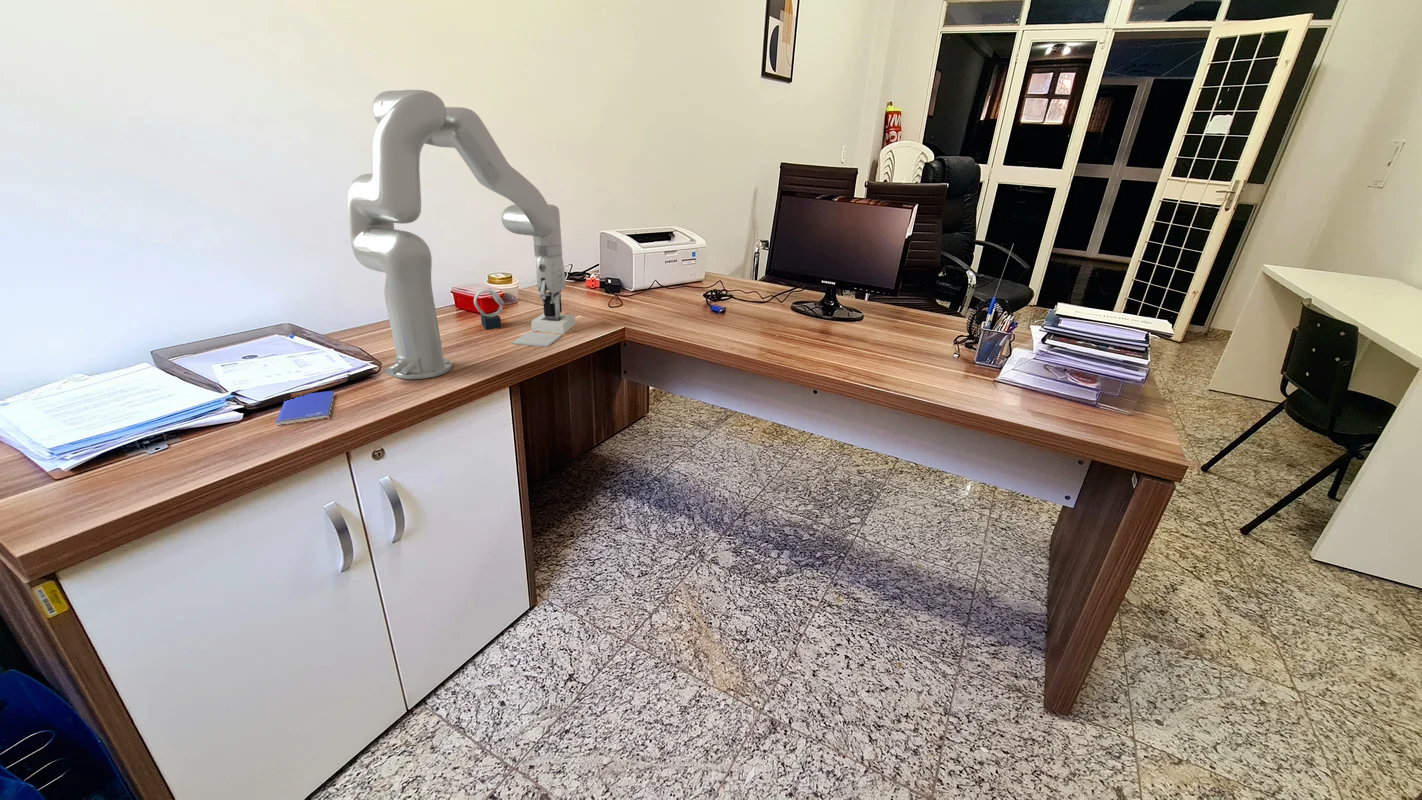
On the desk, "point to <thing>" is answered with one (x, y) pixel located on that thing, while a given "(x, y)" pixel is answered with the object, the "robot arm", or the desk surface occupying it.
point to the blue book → (306, 407)
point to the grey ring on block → (491, 319)
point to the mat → (537, 339)
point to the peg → (557, 308)
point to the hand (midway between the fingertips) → (553, 313)
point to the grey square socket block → (553, 324)
